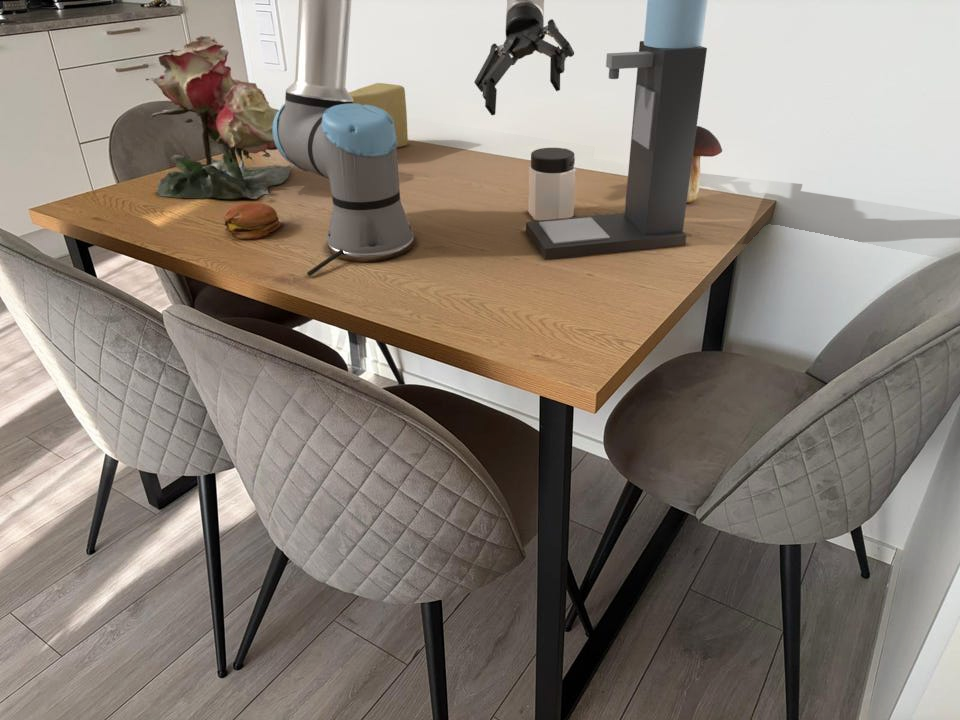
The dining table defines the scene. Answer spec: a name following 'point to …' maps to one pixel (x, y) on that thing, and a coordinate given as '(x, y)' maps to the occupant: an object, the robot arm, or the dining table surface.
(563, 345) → the dining table surface
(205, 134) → the rose bouquet
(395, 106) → the cheese
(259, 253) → the dining table surface
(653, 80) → the water dispenser
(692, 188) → the decorative mushroom
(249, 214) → the burger
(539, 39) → the robot arm
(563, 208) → the jar
